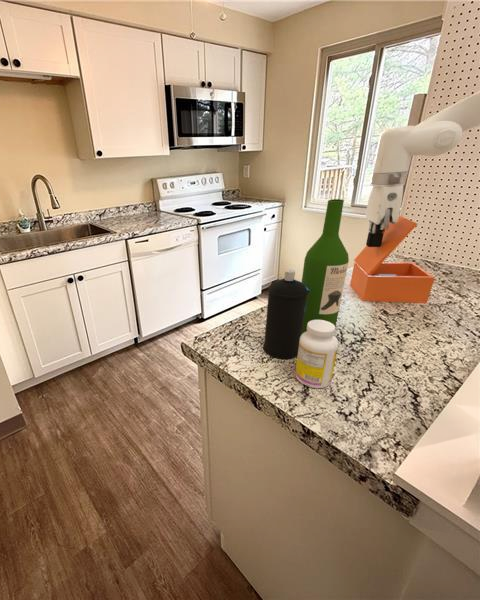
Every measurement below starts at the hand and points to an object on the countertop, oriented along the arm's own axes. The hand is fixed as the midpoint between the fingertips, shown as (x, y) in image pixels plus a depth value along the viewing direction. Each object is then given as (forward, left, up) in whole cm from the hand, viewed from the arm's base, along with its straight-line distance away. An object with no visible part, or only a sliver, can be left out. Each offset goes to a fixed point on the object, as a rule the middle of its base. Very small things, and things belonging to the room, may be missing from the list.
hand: (373, 246), depth 90 cm
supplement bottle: (+22, +45, -15) cm, 52 cm away
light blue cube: (-6, 0, -14) cm, 15 cm away
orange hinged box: (-6, 0, -15) cm, 16 cm away
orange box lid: (-3, 0, 0) cm, 3 cm away
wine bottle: (+18, +25, -15) cm, 34 cm away
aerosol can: (+27, +35, -15) cm, 47 cm away
